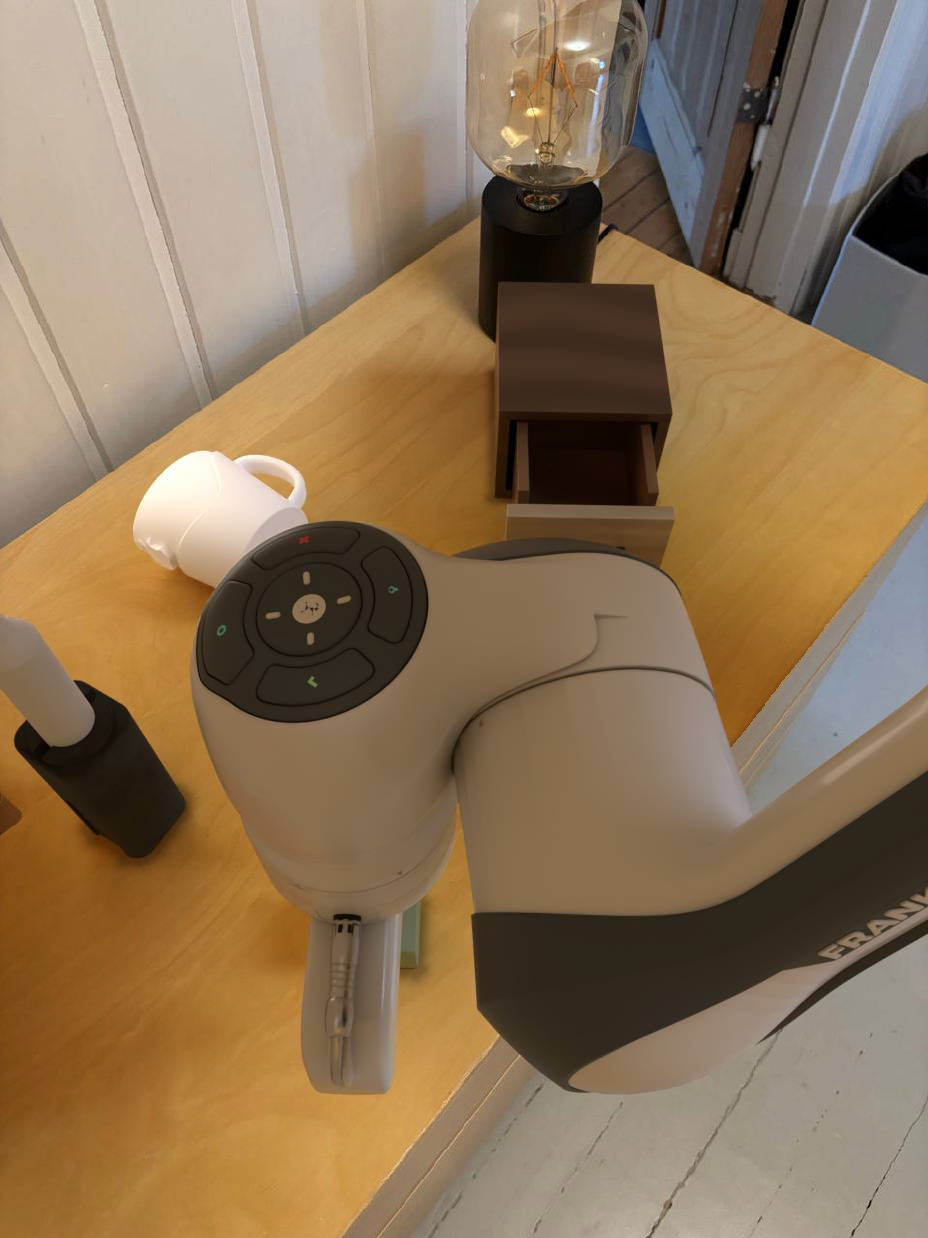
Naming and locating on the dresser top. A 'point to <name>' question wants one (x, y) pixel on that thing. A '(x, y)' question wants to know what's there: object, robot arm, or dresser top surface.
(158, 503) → the mug
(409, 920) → the block
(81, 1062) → the dresser top surface
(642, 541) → the drawer
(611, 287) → the cabinet
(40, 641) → the candle
